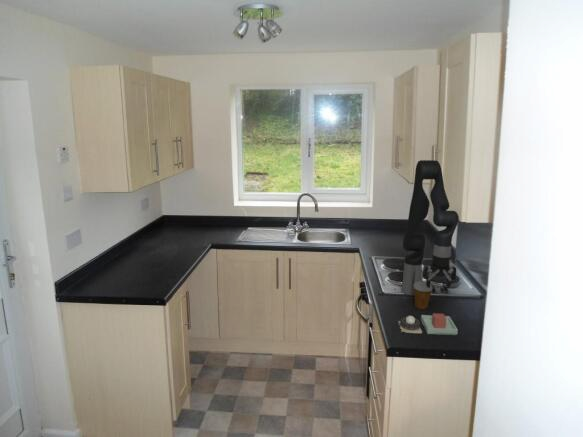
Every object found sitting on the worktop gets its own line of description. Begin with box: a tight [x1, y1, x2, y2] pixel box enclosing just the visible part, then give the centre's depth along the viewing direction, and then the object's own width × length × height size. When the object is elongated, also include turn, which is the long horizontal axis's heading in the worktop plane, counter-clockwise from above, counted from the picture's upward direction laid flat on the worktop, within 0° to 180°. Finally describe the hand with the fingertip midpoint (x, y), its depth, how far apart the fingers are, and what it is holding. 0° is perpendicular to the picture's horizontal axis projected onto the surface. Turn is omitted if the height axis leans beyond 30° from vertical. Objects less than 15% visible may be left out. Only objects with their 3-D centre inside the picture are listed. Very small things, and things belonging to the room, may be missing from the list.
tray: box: [420, 314, 458, 336], centre depth 207 cm, size 13×13×3 cm
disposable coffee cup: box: [413, 280, 434, 310], centre depth 227 cm, size 10×10×12 cm
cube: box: [432, 312, 447, 329], centre depth 206 cm, size 5×5×5 cm
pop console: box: [397, 316, 423, 334], centre depth 205 cm, size 9×9×4 cm
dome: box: [405, 315, 416, 324], centre depth 205 cm, size 4×4×4 cm
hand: (437, 287), depth 204 cm, fingers open, 8 cm apart
